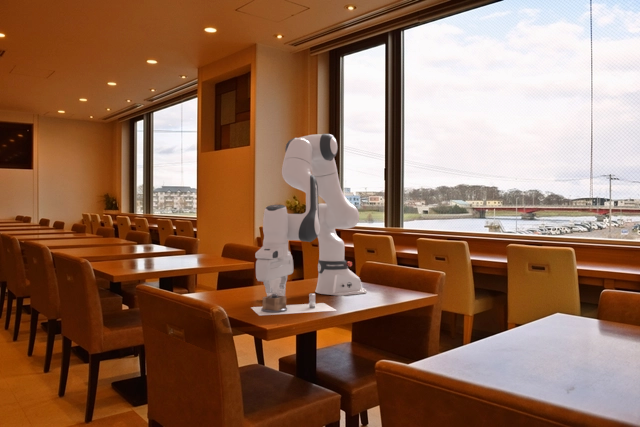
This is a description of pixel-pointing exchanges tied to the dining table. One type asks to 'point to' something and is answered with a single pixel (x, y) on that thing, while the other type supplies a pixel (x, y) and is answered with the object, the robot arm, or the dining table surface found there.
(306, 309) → the board
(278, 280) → the white cup
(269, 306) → the collar
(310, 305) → the stand rod
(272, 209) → the robot arm
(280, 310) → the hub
